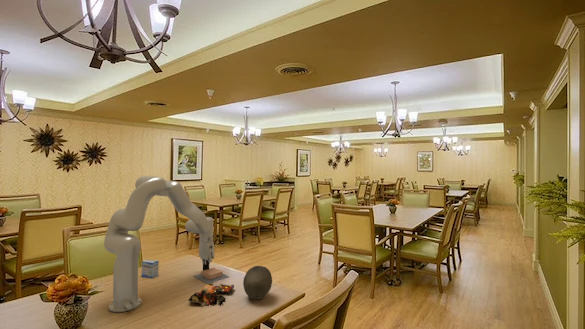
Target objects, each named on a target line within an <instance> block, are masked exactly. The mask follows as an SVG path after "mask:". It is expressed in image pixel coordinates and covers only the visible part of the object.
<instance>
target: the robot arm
mask: <svg viewBox="0 0 585 329" xmlns="http://www.w3.org/2000/svg"><path fill="white" fill-rule="evenodd" d="M134 186H135V189H134V190H133V191H132V192H131V194H130V196H129V198H128V201H127V204H126V207H125V208H119V209H118V210H116V211H114V213H113V214H112V215H111V217H110V219H109V224H108V226H107V230H106V233H105V236H104V241H103V247H104V249H105V250H106V251H107V252H108V253H110V254H114V255H116V257H115V260H114V263H113V269H112V271H113V279H112V280H113V282H112V284H113V288H112V289H113V292H112V302H111V303H109V305H108V310H109V311H110V312H112V313H122V312H128V311H131V310H134V309H137V308H138V307H140V306H141V304H142V298H140V297H138V296H139V295H138V294H139V293H138V292H139V291H138V289H139V288H138V286H139V259H140V257H139V256H140V252H141V246H142V245H141V241H140V239H139V238H138V237H137V236H136V235H134V234H131V233H129V232H137V231H139V230H141V228H142V227H143V225H144V221H145V217H146V214H147V211H148V206H149V204H150V201H151V200H152V199H153V197H155V196H159V197H167V198H168V199H169V200H170V202H171V204H172V206H173V207H174V209H175V210H176V212H178V213H179V214H180V215H182V216H184V217H186V218H188V220H187V221H186V222H185V224H184V228H185V230H186V232H189V233H192V234H197V235H198V234H199V246H198V257H199V258H200V259H201V261H202V262H201V263H202V271H204V270H207V269H210V263H212V262H213V260H214V259H215V244H214V218H213V217H210V216H206V214H205V213H204V212H203V211H202V210H201V209H200V208H199V207H197V205H195V204H194V203H193V202H192V201H191V199H190V197H189V196H188V194H187V192H186V190H185V189H184V187H183V185H182V184H181V183H180V182H179V181H176V180H168V179H164V178H163V177H160V176H153V175H152V176H150V175H149V176H147V175H142V176H140V177H138V178H137V179H136V181H135V183H134Z"/></svg>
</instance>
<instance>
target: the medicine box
mask: <svg viewBox="0 0 585 329" xmlns="http://www.w3.org/2000/svg"><path fill="white" fill-rule="evenodd" d="M159 264H160V263H159V260H155V259H154V260H153V259H145V260H144V259H143V261H142V262H141V277H142V278H149V279H155V278H157V277H158V276H159Z"/></svg>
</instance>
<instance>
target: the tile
mask: <svg viewBox="0 0 585 329" xmlns="http://www.w3.org/2000/svg"><path fill="white" fill-rule="evenodd" d="M200 274H201V276H203V277H205V278H207V279H209V280H211V279H214V278H218V277H221V276H223V274H224V273H223V271H222V270H220V269H217V268H215V267H211V268H209V269H207V270H204V271H203V270H201V272H200Z"/></svg>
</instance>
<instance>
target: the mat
mask: <svg viewBox="0 0 585 329" xmlns="http://www.w3.org/2000/svg"><path fill="white" fill-rule="evenodd" d="M193 277H194V278H195V279H197V280H199V281H200V282H203V283H204V284H205V285H206V284H209V283H210V284H213V283H214V282H218V281H221V280H224V279H227V278H230V276H229V275H227V274H225V273H223V276H221V277H218V278H214V279H211V280H209V279H207V278H205V277H203V276H201V273H198V274H196V275H193Z"/></svg>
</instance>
